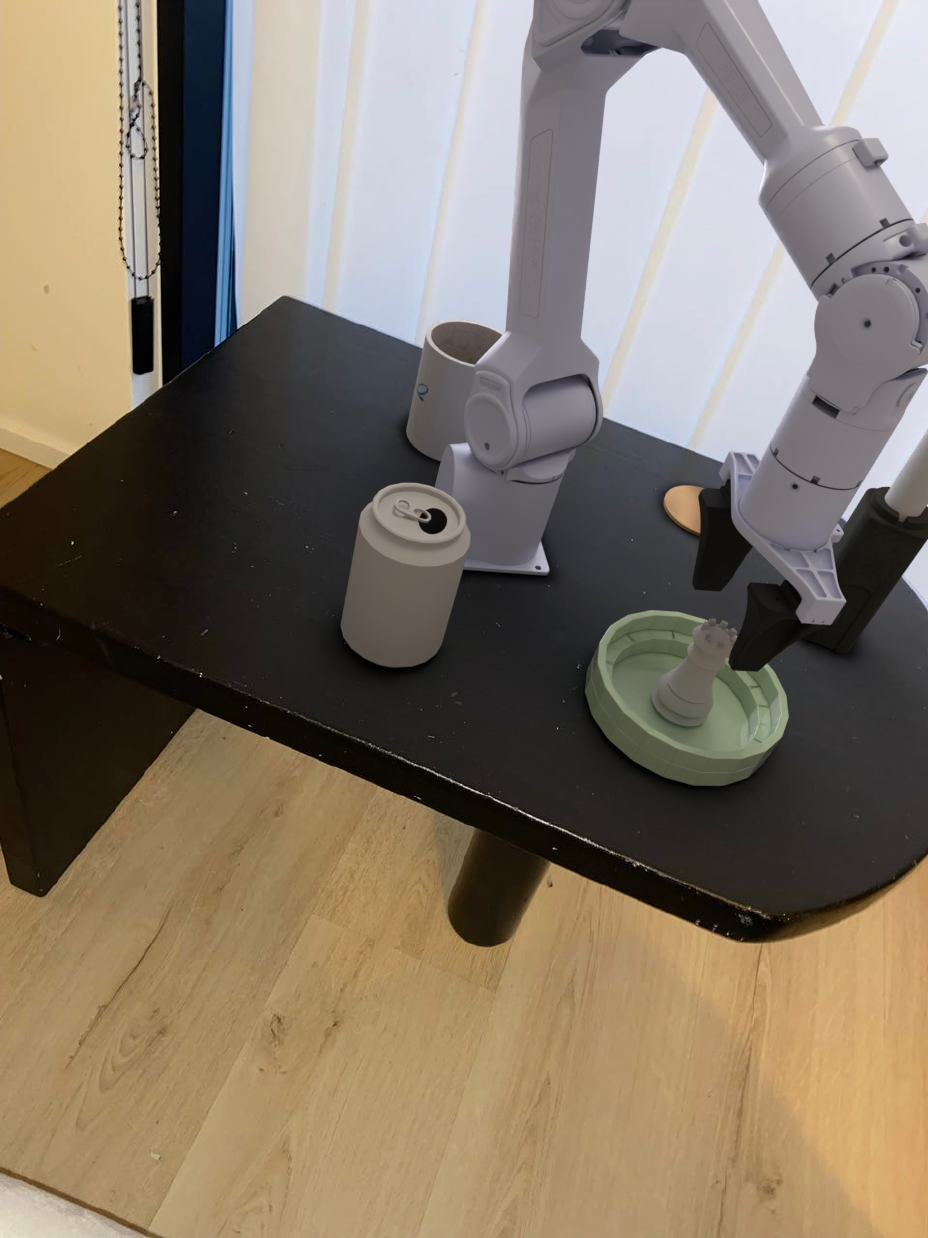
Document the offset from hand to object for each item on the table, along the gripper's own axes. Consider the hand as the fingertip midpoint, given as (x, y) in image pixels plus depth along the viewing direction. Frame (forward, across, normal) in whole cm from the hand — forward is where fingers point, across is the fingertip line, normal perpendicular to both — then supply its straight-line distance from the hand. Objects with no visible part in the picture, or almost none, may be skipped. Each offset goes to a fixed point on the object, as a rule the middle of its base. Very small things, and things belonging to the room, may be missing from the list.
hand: (724, 625), depth 64 cm
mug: (+9, +35, +12) cm, 38 cm away
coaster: (+9, +25, -11) cm, 29 cm away
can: (+9, +6, +21) cm, 24 cm away
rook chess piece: (+9, 0, 0) cm, 9 cm away
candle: (+9, +10, -17) cm, 22 cm away
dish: (+9, 0, 0) cm, 9 cm away
